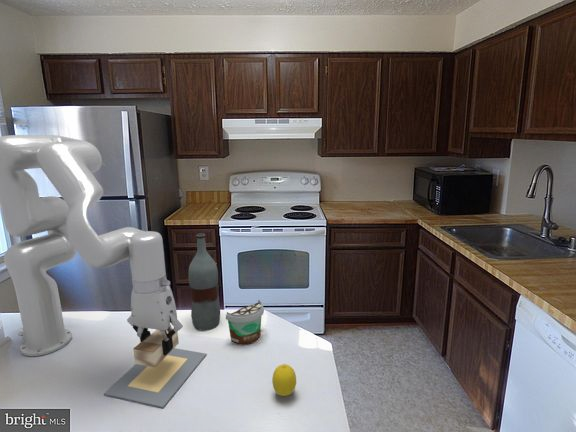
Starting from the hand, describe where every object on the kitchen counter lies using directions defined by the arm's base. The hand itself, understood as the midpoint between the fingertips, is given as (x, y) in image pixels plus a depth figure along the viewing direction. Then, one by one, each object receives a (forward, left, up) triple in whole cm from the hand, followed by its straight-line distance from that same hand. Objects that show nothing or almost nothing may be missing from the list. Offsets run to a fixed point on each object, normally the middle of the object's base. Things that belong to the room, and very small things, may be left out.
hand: (157, 349), depth 88 cm
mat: (0, 0, -7) cm, 7 cm away
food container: (+17, +20, -7) cm, 27 cm away
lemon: (+33, +1, -7) cm, 34 cm away
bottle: (0, +25, -7) cm, 26 cm away
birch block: (0, 0, -1) cm, 1 cm away
